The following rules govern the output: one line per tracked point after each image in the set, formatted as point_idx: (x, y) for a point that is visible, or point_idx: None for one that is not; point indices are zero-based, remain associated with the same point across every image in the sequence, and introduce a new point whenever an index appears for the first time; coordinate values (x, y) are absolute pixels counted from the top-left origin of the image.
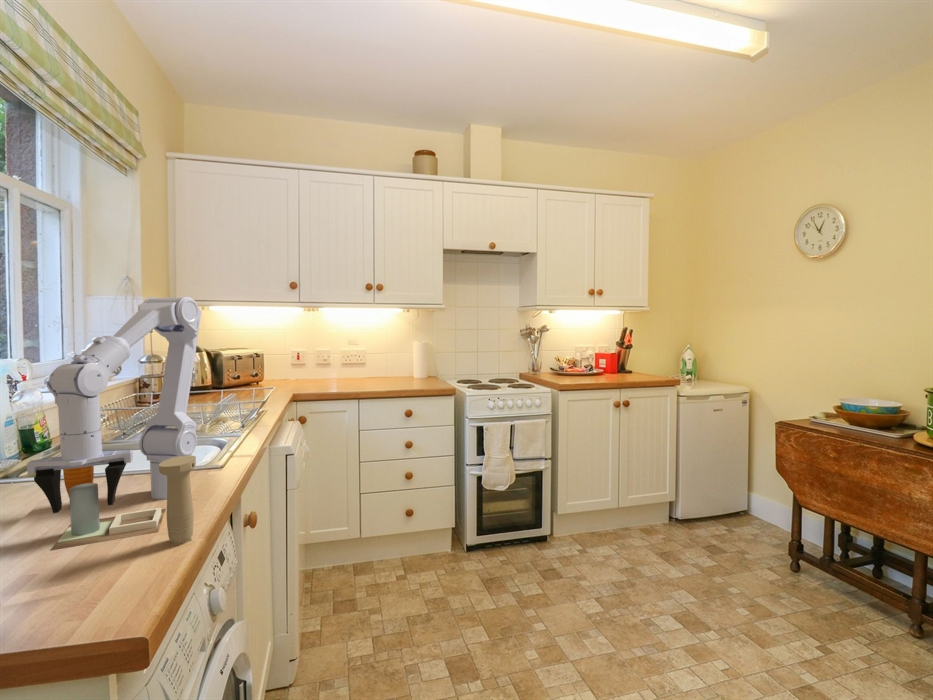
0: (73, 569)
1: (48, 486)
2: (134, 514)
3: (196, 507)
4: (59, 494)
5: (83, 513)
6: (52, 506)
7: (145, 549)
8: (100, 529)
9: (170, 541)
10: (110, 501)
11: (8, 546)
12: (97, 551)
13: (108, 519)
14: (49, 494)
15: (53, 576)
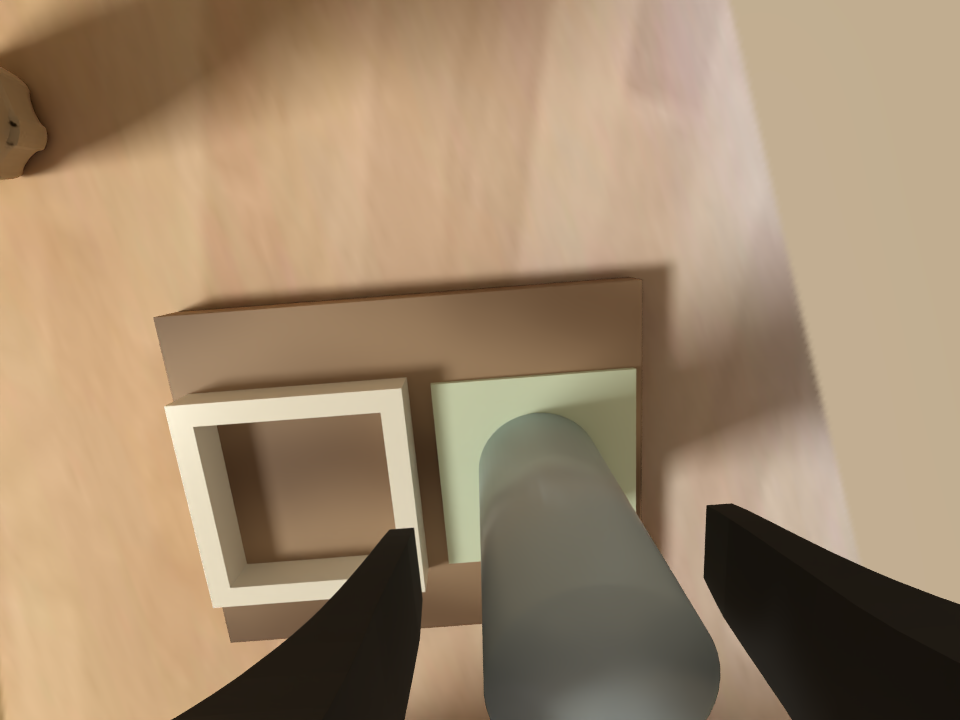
0: (478, 67)
1: (952, 630)
2: (340, 573)
3: (123, 659)
4: (774, 663)
5: (546, 469)
6: (765, 522)
7: (196, 186)
8: (471, 461)
9: (17, 121)
10: (388, 538)
11: (840, 493)
12: (433, 264)
13: (478, 597)
14: (861, 582)
15: (548, 15)
